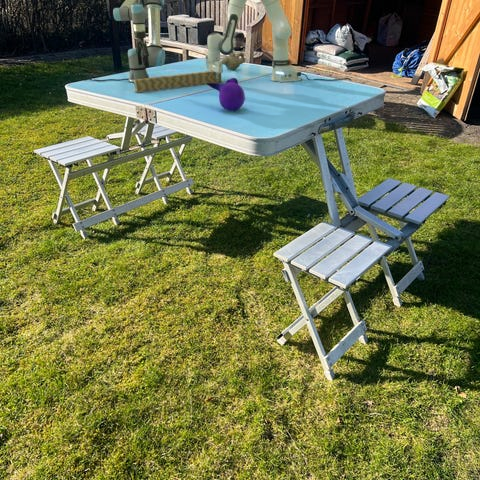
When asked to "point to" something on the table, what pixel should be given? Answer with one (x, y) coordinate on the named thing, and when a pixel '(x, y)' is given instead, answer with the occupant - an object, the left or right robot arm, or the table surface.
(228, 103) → the toy
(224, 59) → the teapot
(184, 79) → the bar
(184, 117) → the table surface
